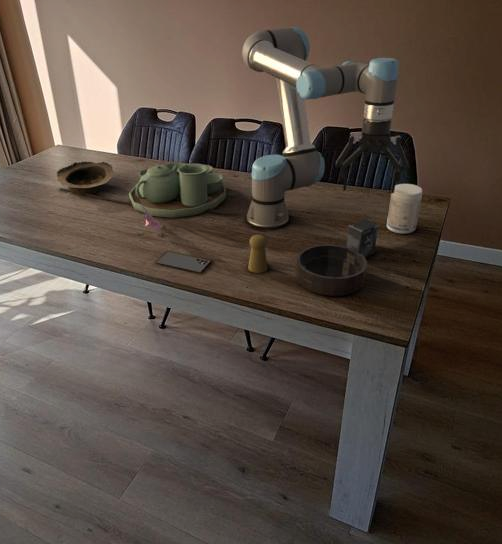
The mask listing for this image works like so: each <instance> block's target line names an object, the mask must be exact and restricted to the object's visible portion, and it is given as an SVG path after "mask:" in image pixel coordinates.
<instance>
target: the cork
mask: <svg viewBox="0 0 502 544" xmlns="http://www.w3.org/2000/svg"><path fill="white" fill-rule="evenodd" d="M267 244H268V240H267V238H266V236H264V235H262V234H254V235H252V236H251V237H250V239H249V246H250V254H249V261H248V266H247V269H248V271H250V272H251V273H255V274H262V273H265V272H266V271H268V261H267V254H266V246H267Z"/></svg>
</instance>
